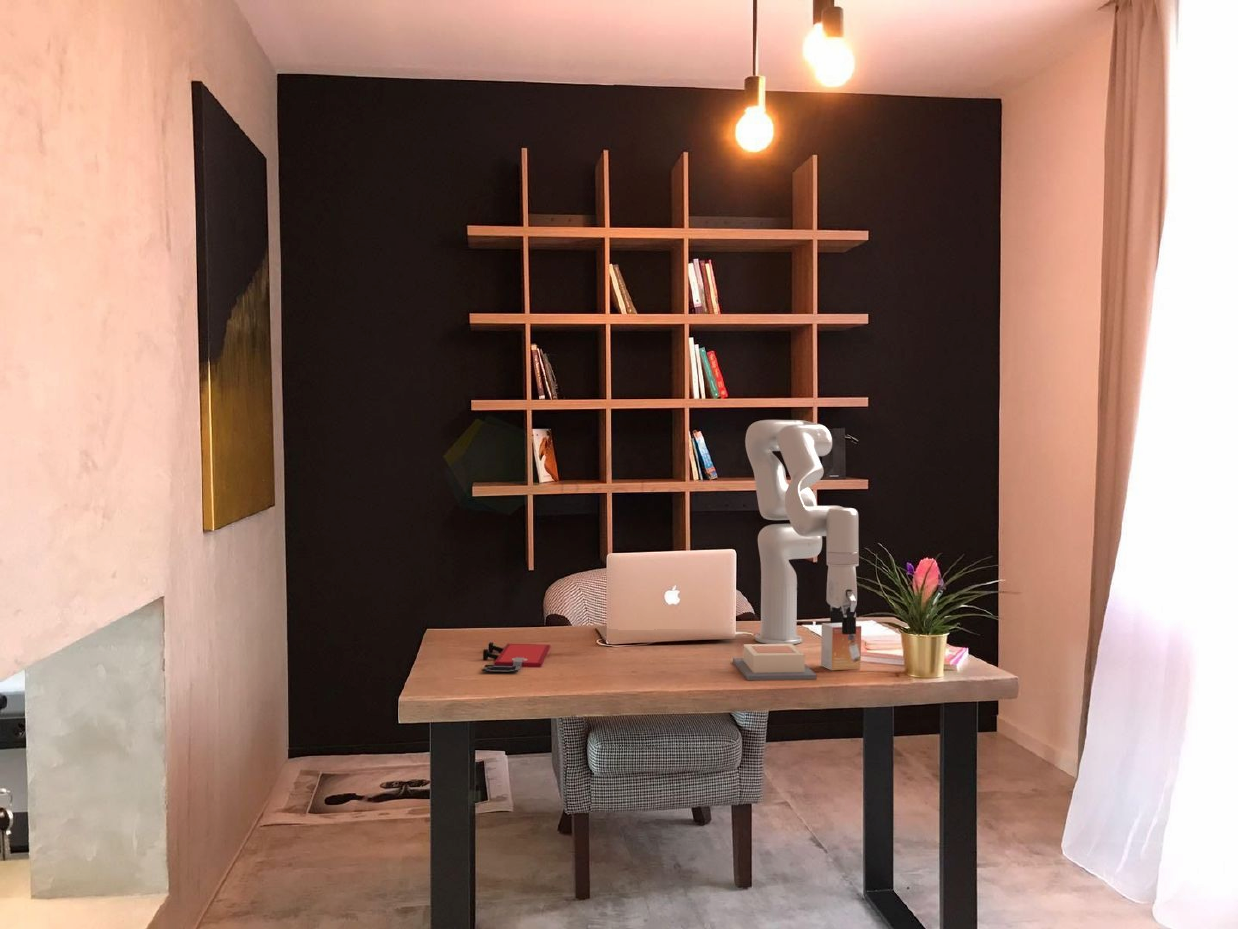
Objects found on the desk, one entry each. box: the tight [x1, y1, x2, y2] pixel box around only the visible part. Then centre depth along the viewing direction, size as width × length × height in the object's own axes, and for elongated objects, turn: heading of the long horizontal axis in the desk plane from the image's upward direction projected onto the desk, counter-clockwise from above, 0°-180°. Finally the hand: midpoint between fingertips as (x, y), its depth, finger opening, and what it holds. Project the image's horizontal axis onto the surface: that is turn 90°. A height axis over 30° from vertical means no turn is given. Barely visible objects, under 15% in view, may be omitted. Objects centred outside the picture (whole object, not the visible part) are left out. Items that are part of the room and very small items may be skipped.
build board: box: [732, 643, 817, 681], centre depth 240 cm, size 18×16×5 cm
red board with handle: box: [481, 642, 551, 673], centre depth 250 cm, size 30×3×15 cm
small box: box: [820, 622, 862, 671], centre depth 243 cm, size 8×6×10 cm
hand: (842, 630), depth 242 cm, fingers open, 9 cm apart
